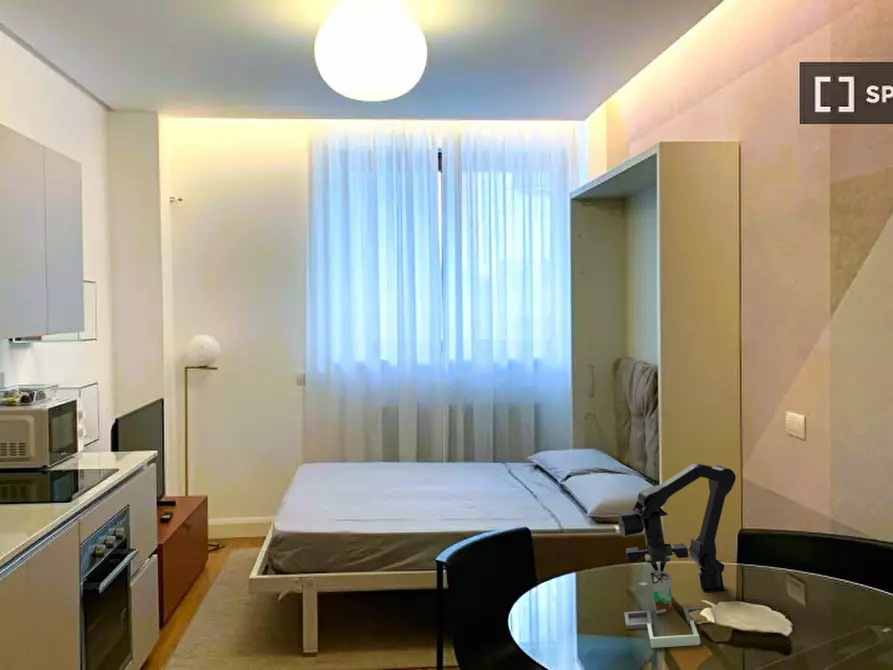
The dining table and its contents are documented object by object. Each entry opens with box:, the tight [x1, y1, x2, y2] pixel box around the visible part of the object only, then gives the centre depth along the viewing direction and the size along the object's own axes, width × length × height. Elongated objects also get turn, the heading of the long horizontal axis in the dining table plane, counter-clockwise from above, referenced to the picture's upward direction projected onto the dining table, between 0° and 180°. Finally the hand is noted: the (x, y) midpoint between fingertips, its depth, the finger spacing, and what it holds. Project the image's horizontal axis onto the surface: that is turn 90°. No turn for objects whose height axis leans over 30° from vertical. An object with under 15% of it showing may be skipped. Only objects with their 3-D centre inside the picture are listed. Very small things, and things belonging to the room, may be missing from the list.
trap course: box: [623, 606, 706, 649], centre depth 215 cm, size 25×22×2 cm
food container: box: [649, 569, 674, 617], centre depth 229 cm, size 12×6×10 cm, turn 168°
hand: (660, 579), depth 236 cm, fingers closed
